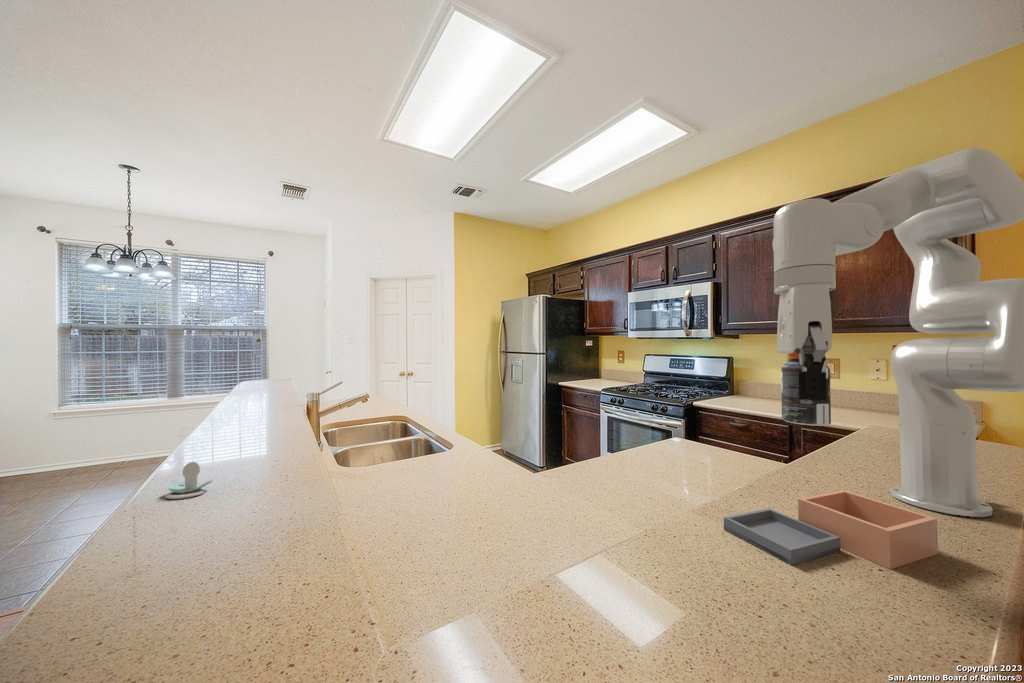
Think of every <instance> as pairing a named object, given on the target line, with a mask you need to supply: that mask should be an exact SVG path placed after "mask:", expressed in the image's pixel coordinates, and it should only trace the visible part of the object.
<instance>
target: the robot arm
mask: <svg viewBox="0 0 1024 683" xmlns="http://www.w3.org/2000/svg"><path fill="white" fill-rule="evenodd" d="M1023 220H1024V180H1023V178H1021V176H1019V175H1018V174H1017V173H1016V171H1014V170H1013V169H1012V167H1011V166H1010V165H1009V164H1008V163H1007V162H1006V161H1005V160H1004V159H1003V158H1001V157H1000V156H998V154H996V153H994V152H992V151H990V150H987V149H985V148H980V147H971V148H965V149H962V150H958V151H956V152H953V153H949V154H947V155H944V156H941V157H938V158H935V159H933V160H930V161H926V162H924V163H921V164H918V165H914V166H912V167H909V168H906V169H904V170H900V171H899V172H896V173H894V174H893V175H892V174H891V175H890V176H888V177H886V178H884V179H883V180H880V181H879V182H876V183H873V184H872V185H869V186H867V187H866V188H863V189H861V190H858V191H855V192H853V193H850V194H849V195H847V196H845V197H842V198H840V199H838V200H836V201H833V202H831V200H829V199H827V198H818V197H817V198H808V199H801V200H797V201H794V202H790V203H788V204H785V205H783V206H782V207H780V208H779V209H778V210H777V211H776V213H775V214H774V217H773V239H772V250H773V294H775V295H780V296H779V302H778V310H777V330H776V331H777V333H776V352H778V353H779V354H787V356H786V364H787V363H788V362H789V361H790V360H789V353H794V352H795V351H796V350H798V354H799V362H800V370H801V372H798V398H800V399H804V400H826V365H827V364H826V361H827V358H826V353H828V352H830V351H831V348H832V342H833V324H832V310H831V308H832V306H831V297H830V292H831V291H834V290H836V286H837V285H836V282H837V281H836V277H837V276H836V257H837V256H841V255H846V254H850V253H855V252H858V251H862V250H865V249H867V248H870V247H871V246H873V245H874V244H876V243H877V242H878V241H879V240H881V238H882V237H883V235H884V232H887V231H890V230H893V232H894V235H895V237H896V239H897V240H898V242H899V243H900V246H901V247H902V248H903V249H904V252H905V253H906V254H907V256H908V257H909V259H910V261H911V263H912V265H913V267H914V275H913V276H914V277H913V283H912V291H911V295H910V296H911V297H910V303H909V311H908V312H909V313H908V315H909V316H908V318H909V323H910V326H911V327H912V328H913V329H914V330H915V331H917V332H920V333H924V334H931V335H933V334H934V335H950V334H951V335H954V334H955V335H957V334H959V335H960V334H963V335H964V334H991V333H993V334H994V336H972V337H971V336H970V337H965V336H964V337H959V336H958V337H954V336H953V337H926V338H925V337H924V338H916V339H910V340H906V341H903V342H901V343H899V344H897V345H896V346H895V347H894V348H893V349H892V351H891V354H890V365H891V366H890V367H891V370H892V374H893V377H894V380H895V384H896V390H897V395H898V396H897V398H898V413H899V419H898V420H899V445H900V446H899V447H900V448H899V450H900V451H899V452H900V454H899V456H900V473H901V474H900V482H901V484H900V485H893V486H891V487H890V495H891V496H892V497H894V498H895V499H897V500H899V501H901V502H904V503H906V504H909V505H912V506H914V507H918V508H921V509H926V510H929V511H933V512H938V513H943V514H948V515H954V516H959V515H960V516H959V517H967V516H969V517H970V518H987V516H988V517H990V516H993V514H992V513H993V510H994V509H993V507H992V506H990V504H988V503H986V502H984V501H982V500H979V497H978V496H979V495H978V491H979V490H980V489H981V484H980V482H978V467H977V461H978V460H977V442H976V441H977V440H976V438H977V437H976V434H977V433H976V415H975V412H974V411H973V409H972V407H971V405H969V404H968V403H967V401H965V400H964V398H963V397H962V396H960V395H959V394H958V393H957V392H956V391H955V390H968V391H969V390H970V391H983V392H998V393H999V392H1002V393H1003V392H1005V393H1020V392H1024V278H1018V277H1017V278H1015V277H1014V278H1000V279H992V280H983V281H981V280H980V279H981V278H980V276H981V269H982V268H981V267H982V263H981V260H980V259H979V257H977V255H976V254H974V253H973V252H971V251H969V249H966V248H965V247H963V246H961V245H958V244H956V243H954V242H952V241H951V240H949V239H951V238H958V237H962V236H968V235H973V234H977V233H982V232H988V231H992V230H998V229H1003V228H1006V227H1011V226H1013V225H1015V224H1018V223H1019V222H1020V223H1021V221H1023ZM803 350H812V351H803ZM806 357H807V361H806Z"/></svg>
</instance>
